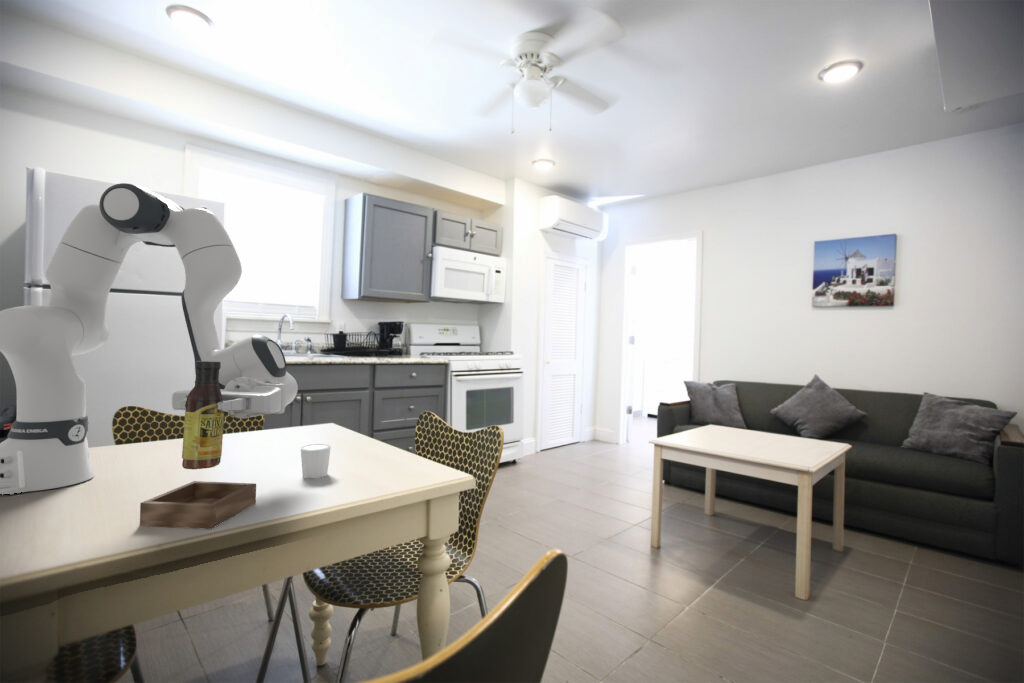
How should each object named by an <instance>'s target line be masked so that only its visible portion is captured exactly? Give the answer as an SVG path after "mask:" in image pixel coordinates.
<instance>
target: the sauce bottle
mask: <svg viewBox="0 0 1024 683" xmlns="http://www.w3.org/2000/svg"><path fill="white" fill-rule="evenodd" d="M195 368H196V374H195V381H194V387H193V388H192V389H190V390H191V391H190V393H189V395H188V397H187V401H186V410H184V423H183V439H182V451H181V452H182V453H181V459H182V464H181V465H182V466H181V467H182V468H183V469H186V470H201V469H202V470H204V469H210V468H215V467H217V466H219V465H220V463H221V459H222V454H223V438H224V436H223V435H224V421H225V412H224V411H218V410H217V408H218V406H217V403H218V402H219V401H223V398H222V394H221V391H220V387H219V370H220V368H221V362H219V361H196V363H195V362H194V369H195Z"/></svg>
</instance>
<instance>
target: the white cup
mask: <svg viewBox="0 0 1024 683" xmlns="http://www.w3.org/2000/svg"><path fill="white" fill-rule="evenodd" d="M330 455H331V445H330V444H324V443H321V444H320V443H318V444H307V445H303V446H302V447H300V456H301V457H300V458H301V470H302V471H301V473H302V477H303V478H304V477H305V478H304V479H308V478H315V479H320V478H319V477H322V478H324V477H323V476H325V477H327V476H328V473H329V465H330V464H329V463H330Z"/></svg>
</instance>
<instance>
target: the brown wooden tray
mask: <svg viewBox="0 0 1024 683" xmlns="http://www.w3.org/2000/svg"><path fill="white" fill-rule="evenodd" d="M256 502H257V483H252V482H251V483H248V482H226V481H225V482H224V481H222V482H220V481H201V480H198V481H197V480H193V481H191V482H189V483H186V484H184V485H181V486H179V487H178V486H177V487H176V488H173V489H171V490H169V491H166V492H164V493H161V494H159V495H157V496H154V497H152V498H150V499H147V500H144V501H141V502H140V504H139V509H140V510H139V527H158V528H159V527H161V528H162V527H163V528H180V529H199V528H205V530H212V528H213V529H214V528H216V527H218V526H219V524H220V523H221V524H222V522H223V523H224V521H225V522H227V521H228V520H230V519H232V518H233V517H234V516H237V515H238V514H240V513H242V512H243V510H244V511H246V510H247V509H249V508H250V507H252V506H253V505H256V504H255V503H256ZM236 514H237V515H236ZM231 517H232V518H231ZM229 518H230V519H229ZM221 524H220V525H221ZM217 525H218V526H217ZM215 526H216V527H215Z"/></svg>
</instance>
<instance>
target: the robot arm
mask: <svg viewBox="0 0 1024 683" xmlns="http://www.w3.org/2000/svg"><path fill="white" fill-rule="evenodd" d="M227 232H228V231H226V229H225V228H224V225H223V224H222V223H221V221H220V219H219V218H218V217H217V216H216V214H214V212H212V211H210V210H208V209H205V208H203V207H192V208H191V207H190V208H186V209H185V208H184V207H183V206H180V205H179V204H177V203H175V202H174V201H172V200H171V199H170V198H167V197H166V196H164V195H162V194H158V193H156V192H154V191H151V190H149V189H147V187H143V186H140V185H138V184H137V185H136V184H134V183H133V184H132V183H126V182H125V183H124V182H122V183H117V184H113V185H111V186H109V187H108V188H106V189H105V190H104V191H103V193H102V194H101V196H100V199H99V203H97V204H96V203H95V204H94V203H93V204H87V205H86V206H83V207H82V208H81V209H80V211H79V212H78V213H77V214H76V215H75V217H74V218H73V219H72V221H71V222H70V224H69V225H68V227H67V229H65V231H64V233H63V235H62V237H61V239H60V241H59V243H58V245H57V248H55V252H54V253H53V256H52V258H51V260H50V262H49V264H48V266H47V268H46V269H45V278H46V280H47V281H48V284H49V286H50V297H49V302H48V304H47V306H45V305H34V304H31V305H22V306H15V307H10V308H5V309H2V310H0V353H1V354H2V355H3V357H4V358H5V360H6V361H7V363H8V364H9V368H10V369H11V373H12V375H13V378H14V382H15V387H16V388H15V389H16V390H15V391H16V419H15V420H14V421H13V422H12V423H6V424H3V426H6V427H4V428H3V430H5V431H7V430H9V432H8V434H7V435H6V436H7V438H6V439H5V440H3V441H1V442H0V494H2V495H1V496H4V495H3V494H10V495H15V494H14V493H17V494H20V493H21V492H22V493H26V492H37V491H44V490H45V491H46V490H52V489H57V488H64V487H67V486H72V485H75V484H79V483H83V482H85V481H88V480H90V479H91V480H92V478H93V477H94V473H93V471H94V467H93V466H92V465H91V460H90V459H91V458H90V450H89V441H88V438H87V432H88V431H89V425H90V424H89V423H90V422H89V417H88V415H86V413H87V383H86V380H85V379H84V378H82V376H80V374H79V373H78V372H77V369H76V366H75V363H74V360H73V356H80V355H86V354H88V353H91V352H94V351H96V350H99V349H100V348H101V347H103V346H104V345H105V344H106V343H107V341H108V339H109V336H110V329H109V326H108V323H107V321H106V310H107V303H108V299H109V298H108V297H109V294H110V291H111V289H112V286H113V285H114V282H115V279H116V277H117V276H118V273H119V270H120V269H121V266H122V264H123V262H124V259H125V258H126V255H127V253H128V251H129V249H130V248H131V247H132V246H133V245H134V244H136V243H140V242H142V243H144V244H145V245H148V246H154V247H155V246H156V247H163V248H167V247H168V248H175V249H176V250H177V252H178V255H179V257H180V260H181V262H182V265H183V268H184V273H185V284H184V288H183V291H182V292H181V297H180V299H181V305H182V312H183V316H184V320H185V324H186V329H187V333H188V337H189V341H190V344H191V348H192V353H193V358H194V364H195V363H196V361H219V362H221V368H220V370H219V387H220V391H221V394H222V398H223V401H219V402H218V403H217V406H218V408H217V410H218V411H224V413H225V412H227V414H228V415H231V416H232V417H234V418H236V419H249V418H252V417H254V418H255V417H259V416H262V415H264V416H265V415H279V414H284V413H285V411H286V407H287V406H288V405H290V404H291V403H292V402H293V401H294V400H295V398H296V397H297V394H298V389H299V387H298V386H299V385H298V383H297V380H296V379H295V378H294V377H293V375H291V373H289V372H288V371H287V361H286V357H285V354H284V352H283V349H282V348H281V347H280V345H279V344H278V343H277V342H275V341H274V340H272V339H271V338H270V337H267V336H265V335H262V334H254V335H252V336H249V337H246V338H244V339H242V340H239V341H237V342H236V343H234V344H231V345H229V346H226V347H224V348H222V349H221V345H220V341H219V337H218V335H217V334H218V333H217V330H216V325H215V320H214V315H215V313H216V312H215V311H216V310H217V308H218V306H219V305H220V303H221V302H222V301H223V300H224V298H226V296H227V295H228V294H230V293H231V292H233V290H234V289H235V287H236V286H237V284H238V283H239V281H240V279H241V277H242V273H243V271H242V270H243V268H242V263H241V261H240V258H239V255H238V252H237V249H236V248H235V247H234V244H233V242H232V240H231V237H230V236H229V234H228V233H227ZM194 372H195V373H194V374H195V375H196V368H195V367H194ZM191 390H192V389H187V390H186V389H185V390H178V391H174V392H173V393H172V396H171V407H172V410H174V411H186V401H187V397H188V395H189V393H190V391H191ZM7 426H8V427H7Z"/></svg>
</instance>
